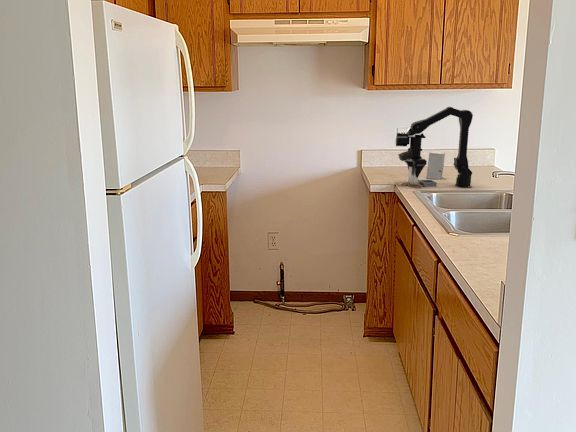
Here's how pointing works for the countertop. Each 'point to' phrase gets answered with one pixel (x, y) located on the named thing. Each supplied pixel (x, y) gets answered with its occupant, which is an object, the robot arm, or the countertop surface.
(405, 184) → the walnut pad
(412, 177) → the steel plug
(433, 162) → the skincare box
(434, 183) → the square metal frame
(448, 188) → the countertop surface
